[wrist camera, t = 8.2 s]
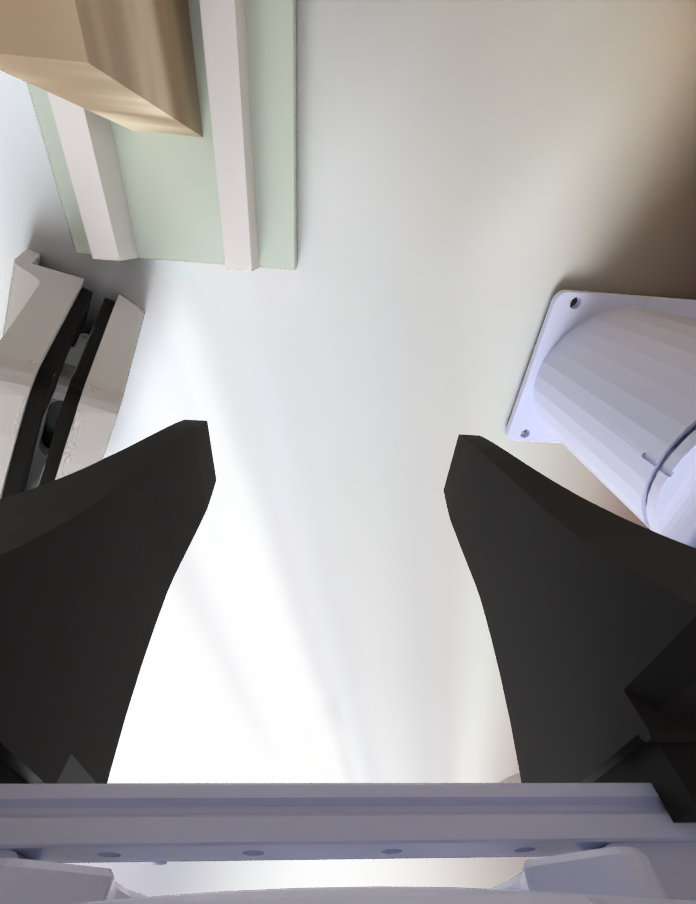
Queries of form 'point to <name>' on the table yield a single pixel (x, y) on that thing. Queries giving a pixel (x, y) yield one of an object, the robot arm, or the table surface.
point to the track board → (193, 154)
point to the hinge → (59, 374)
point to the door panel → (108, 58)
